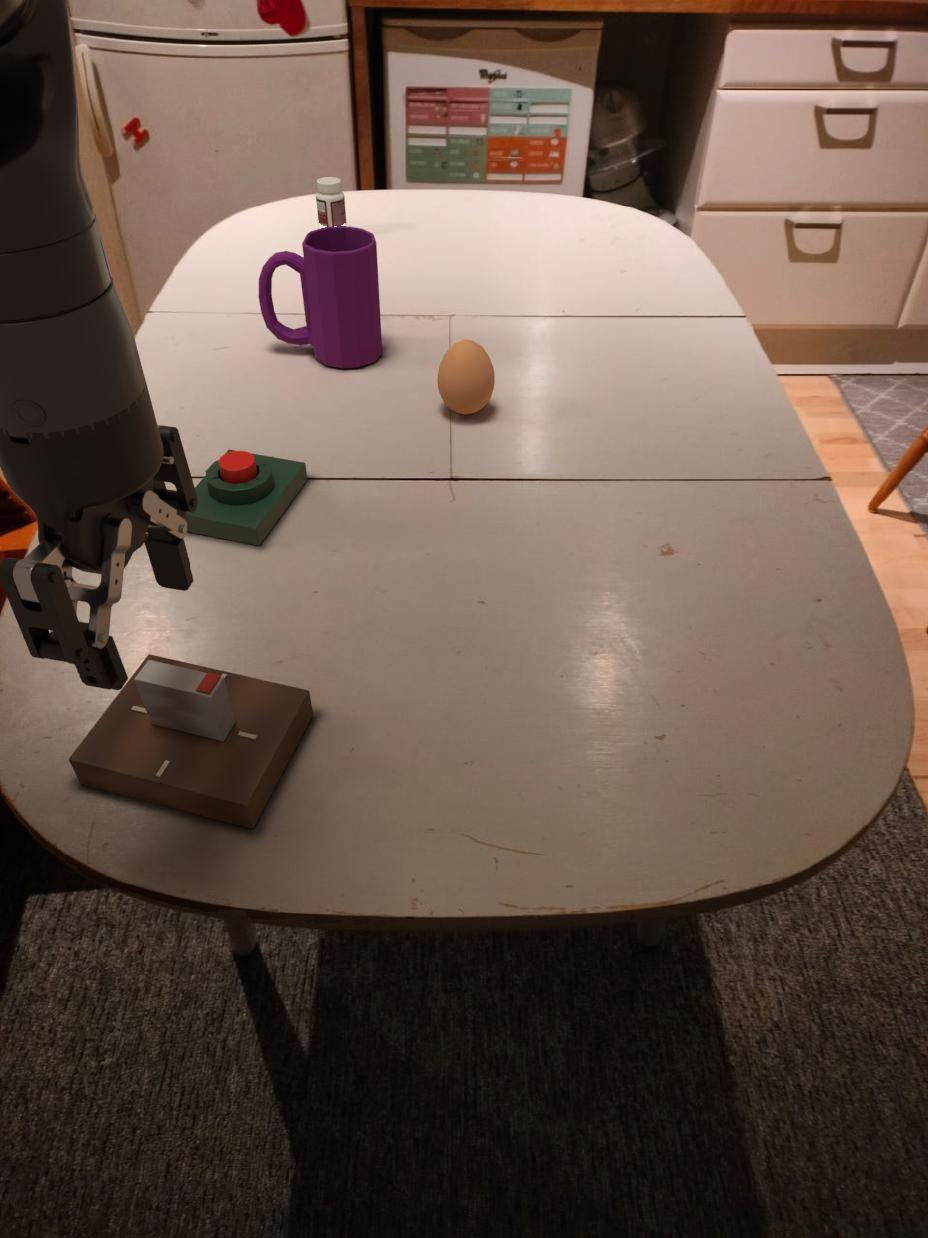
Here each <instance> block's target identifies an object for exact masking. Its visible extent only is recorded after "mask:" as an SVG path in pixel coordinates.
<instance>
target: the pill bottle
mask: <svg viewBox="0 0 928 1238" xmlns="http://www.w3.org/2000/svg"><path fill="white" fill-rule="evenodd" d="M316 188H317V193H316V194H315V201H316V210H317V221H319V222H318V224H319V223H320V224H321V225H323V226H327V227H334V226H341V225H343V224H344V223H347V212H346V200H345V197H346V196H345V193H344V192H343V191H342V190H343V189H342V188H343V187H342V179H340V178H339V177H335V176H325V177H320V178H318V179H317V180H316Z"/></svg>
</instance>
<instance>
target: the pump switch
mask: <svg viewBox="0 0 928 1238" xmlns="http://www.w3.org/2000/svg"><path fill="white" fill-rule="evenodd" d="M233 451H236V450H235V449H228V450H226V452H225V453H224V454H226V453H229V452H233ZM250 453H251V454H252V455H253V456H254V457H255V462H256V468H257V476H256V477H255V479H253V480H250V481H248V482H246V483H239V484H232V483H226V482H224V481H223V480H222V478H221V474H220V469H219V464H218V461H219V459H218V460H215V461H213V462H212V463H211V465H209V467H208V468H207V469H206V470H205V475H204V476H203V478H202V479H201V480H199V482H198V484H196V485H195V486H194V487H195V491H196V494H197V498H198V505H197V509H196V511H195V512H193V513H190V512H187V513H186V516H185V518H184V519H185V520H186V522H187V533H192V534H196V535H197V534H198V535H203V536H207V537H212V538H217V539H222V540H227V541H233V542H238V543H244V544H247V545H253V546H261V545H262V543H263V542H264V541H265V540H266V538H267V536H268V535H269V534H270V532H271V531H272V529H273V528H274V527H275V525H276V524H277V523H278V521H279V520H280V518H281V517H282V516H283V514H284V513H285V511H286V510H287V509H288V507H289V506H290V505H291V503H292V502H293V500H294V499H295V498H296V497H297V495H298V494H299V492H300V491H301V489H302V488H303V487H304V486H305V484H306V483H307V482H308V471H307V465H306V462H303V461H298V460H291V459H286V458H280V457H274V456H269V455H264V454H257V453H252V452H250Z"/></svg>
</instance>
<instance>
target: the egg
mask: <svg viewBox="0 0 928 1238" xmlns="http://www.w3.org/2000/svg"><path fill="white" fill-rule="evenodd" d="M436 381H437V390H438V393H439V395H440V397H441V400H442V401H443V403H444V404H445V406H447V408H449V410H452V411H453V412H455V413H457V414H460V415H472V414H474V413H477V412H478V411H480V410H482V409H483V408H484V407H485V406H486V405H487V404H488V402H489V401H490V399H491V398H492V396H493V393H494V389H495V369H494V365H493V363H492V360H491V358H490V355H489V354H488V353H487V351H486V350H485V348H484V347H483V346H482V345H481V344H479V343H477V342H475V341H474V340H470V339H463V340H459V341H457V342H455V343H454V344H452V345H451V346H450V347H449V348H448V349H447V351H446V352H445V354H444V355H443V356H442V359H441V362H440V363H439V366H438V371H437V380H436Z"/></svg>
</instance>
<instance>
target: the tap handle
mask: <svg viewBox="0 0 928 1238" xmlns="http://www.w3.org/2000/svg"><path fill="white" fill-rule="evenodd" d="M134 680H135V683H136V685H137V688H138V691H139V693H140V696H141V699H142V701H143V704H144V707H145V709H146V712H147V715H148V717H149V720H150V723H151V724H154V725H158V726H162V727H166V728H170V729H174V730H178V731H182V732H186V733H191V734H195V735H199V736H203V737H207V738H211V739H215V740H219V741H224V740H225V739H226V737H227V735H228V734H229V732H230V730H231V729H232V727H233V725H234V724H235V722H236V721H235V717H234V713H233V709H232V705H231V702H230V698H229V694H228V690H227V687H226V683H225V679H224V677H222V676H220V675H216V674H212V673H204V672H200V671H196V670H191V669H187V668H182V667H178V666H174V665H169V664H165V663H161V662H156V661H152V660H148V661H147V663H146V664H145V665H144V667H143V668H142V669H141V671H140V672H139V673H138V675H137V676H136V677H135V679H134Z"/></svg>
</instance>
